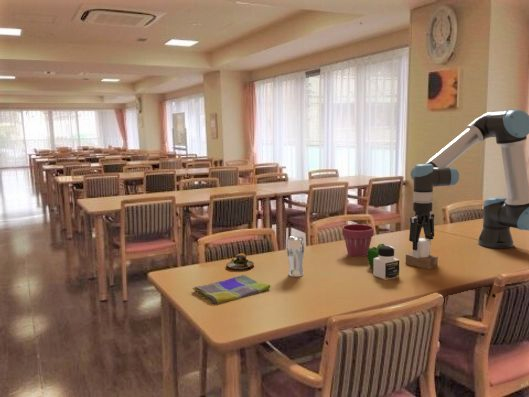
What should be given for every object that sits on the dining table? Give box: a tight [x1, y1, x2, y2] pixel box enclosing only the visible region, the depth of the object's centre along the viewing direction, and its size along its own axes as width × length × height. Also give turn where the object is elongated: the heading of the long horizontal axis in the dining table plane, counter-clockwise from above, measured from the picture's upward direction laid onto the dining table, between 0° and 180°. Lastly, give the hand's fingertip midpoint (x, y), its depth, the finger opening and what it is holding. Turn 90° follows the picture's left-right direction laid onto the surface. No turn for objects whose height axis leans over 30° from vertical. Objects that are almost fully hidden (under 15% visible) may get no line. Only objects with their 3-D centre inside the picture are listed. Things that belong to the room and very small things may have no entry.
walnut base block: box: [405, 251, 439, 270], centre depth 191 cm, size 6×11×4 cm, turn 37°
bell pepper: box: [367, 243, 385, 268], centre depth 189 cm, size 8×8×10 cm
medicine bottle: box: [372, 244, 400, 281], centre depth 177 cm, size 7×7×12 cm
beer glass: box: [286, 236, 305, 278], centre depth 182 cm, size 7×7×15 cm
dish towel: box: [192, 274, 271, 305], centre depth 166 cm, size 18×24×3 cm
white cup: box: [418, 237, 431, 257], centre depth 190 cm, size 7×7×7 cm
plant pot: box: [341, 223, 375, 258], centre depth 209 cm, size 14×14×13 cm
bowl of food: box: [226, 249, 255, 270], centre depth 195 cm, size 12×12×8 cm
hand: (421, 255), depth 191 cm, fingers closed on white cup, 7 cm apart
